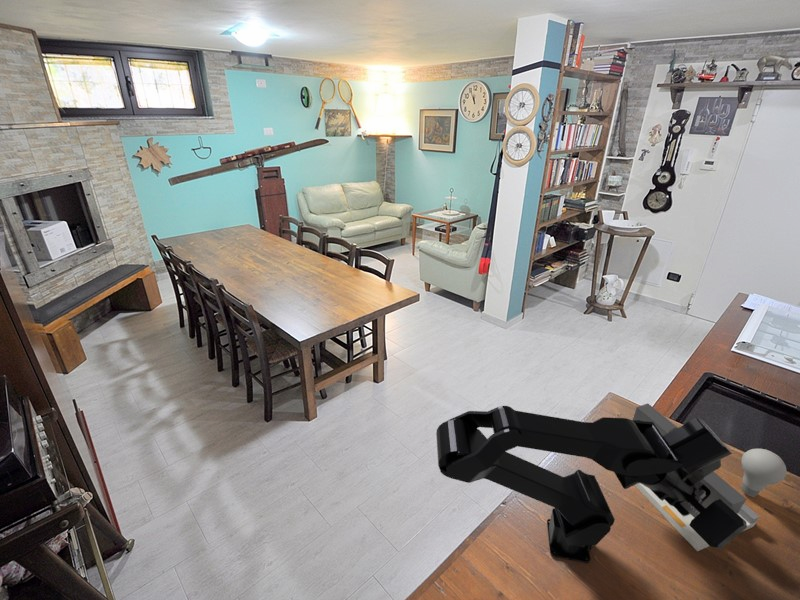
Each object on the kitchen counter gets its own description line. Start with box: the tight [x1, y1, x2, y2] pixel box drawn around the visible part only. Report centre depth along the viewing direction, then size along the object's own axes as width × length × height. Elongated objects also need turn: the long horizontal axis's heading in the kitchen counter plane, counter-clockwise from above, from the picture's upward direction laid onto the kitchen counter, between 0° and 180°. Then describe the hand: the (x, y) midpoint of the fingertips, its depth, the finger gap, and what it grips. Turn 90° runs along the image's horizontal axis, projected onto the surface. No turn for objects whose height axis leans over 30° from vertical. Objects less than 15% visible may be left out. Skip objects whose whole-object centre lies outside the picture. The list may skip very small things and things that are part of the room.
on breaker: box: [632, 403, 679, 435], centre depth 82 cm, size 3×10×8 cm, turn 17°
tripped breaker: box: [695, 471, 747, 514], centre depth 70 cm, size 3×10×8 cm, turn 17°
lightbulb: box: [740, 448, 787, 498], centre depth 73 cm, size 6×6×11 cm
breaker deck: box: [634, 483, 760, 552], centre depth 78 cm, size 13×24×3 cm, turn 17°
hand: (692, 494), depth 69 cm, fingers closed
